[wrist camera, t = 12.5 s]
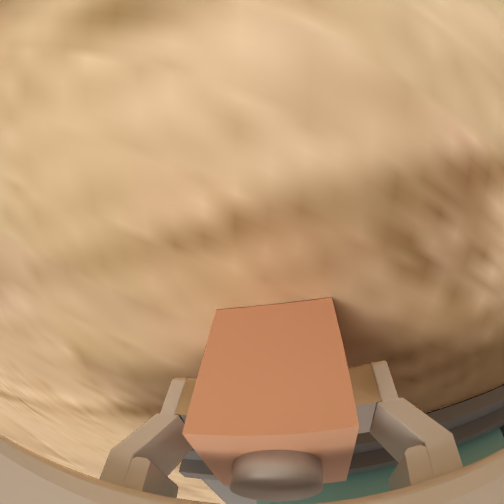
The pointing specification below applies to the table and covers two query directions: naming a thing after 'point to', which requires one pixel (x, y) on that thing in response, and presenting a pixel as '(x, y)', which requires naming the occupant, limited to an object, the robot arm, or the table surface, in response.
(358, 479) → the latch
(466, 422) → the housing
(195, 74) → the table surface
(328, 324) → the peach button block
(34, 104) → the table surface
